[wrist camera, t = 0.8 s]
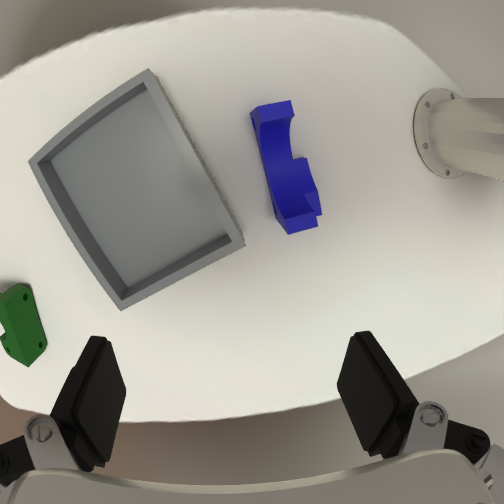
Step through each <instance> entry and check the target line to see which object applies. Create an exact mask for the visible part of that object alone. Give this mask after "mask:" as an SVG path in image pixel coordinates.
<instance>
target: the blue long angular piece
mask: <svg viewBox="0 0 504 504" xmlns="http://www.w3.org/2000/svg"><path fill="white" fill-rule="evenodd" d="M250 116H251V120H252V123H253V127H254V131H255V135H256V139H257V143H258V147H259V150H260V154H261V158H262V162H263V166H264V170H265V174H266V178H267V183H268V187H269V191H270V195H271V199H272V203H273V208H274V212H275V216H276V219H277V220H278V222H279V223H280V224H281V226H282V227H283V228H284V230H285V231H286V232H287V234H292V233H296V232H299V231H303V230H307V229H310V228H314V227H318V223H317V218H316V216H319V215H322V212H321V206H320V201H319V195H318V190H317V188H316V186H315V183H314V181H313V178H312V175H311V172H310V169H309V165H308V161H307V158H304V157H303V158H298V159H294V160H293V157H292V152H291V146H290V134H289V130H290V122H291V119H292V118H293V117H294V112H293V108H292V104H291V100H288V101H283V102H278V103H272V104H267V105H263V106H258V107H256V108H255V109H254V110H253V111H252V112H251V113H250Z"/></svg>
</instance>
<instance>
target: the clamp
mask: <svg viewBox="0 0 504 504" xmlns="http://www.w3.org/2000/svg"><path fill="white" fill-rule="evenodd" d="M0 322H1V324H2V326H3V328H4V330H5V333H4V334H3V335H2V336H0V340H1V343H2V345H3V347H4V349H5V351H6V352H7V354H8V355H9V356H10V357H12V358H13V359H15V360H17V361H18V362H20V363H22V364H23V365H25V366H27V367H29V366H30V365H31V364H32V363H33V362H34V361H35V360H36V359H37V358H38V357H39V356H40V355H41V354H42V353H43V352H44V351H45V349H46V346H47V342H46V339H45V336H44V333H43V330H42V327H41V323H40V320H39V317H38V314H37V310H36V307H35V303H34V299H33V296H32V292H31V290H30V289H29V288H28V287H25V286H22V285H20V284H17V285H15V286H13V287H12V288H10V289H9V290H7V291H6V292H4V293H3V294H2V293H0Z"/></svg>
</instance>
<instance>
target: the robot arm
mask: <svg viewBox="0 0 504 504" xmlns="http://www.w3.org/2000/svg"><path fill="white" fill-rule="evenodd" d="M414 134H415V141H416V144H417V148H418V151H419V153H420V155H421V158H422V159H423V161H424V163H425V164H426V165H427V167H428V168H429V169H430V170H431V171H432V172H434V173H435V174H436V175H439V176H441V177H444V178H452V179H454V178H457V177H460V176H461V175H463V174H464V173H465V172H466V171H467V172H471V173H475V174H479V175H482V176H486V177H490V178H493V179H497V180H500V181H504V98H472V99H471V98H468V99H462V98H461V97H460V96H459V95H457V94H456V93H454V92H453V91H450V90H448V89H435V90H431V91H429V92H428V93H426V94H425V95H424V96H423V97H422V98H421V100H420V102H419V104H418V106H417V109H416V112H415V118H414ZM337 389H338V392H339V394H340V396H341V399H342V401H343V403H344V405H345V408H346V410H347V412H348V415H349V417H350V419H351V422H352V424H353V426H354V428H355V431H356V433H357V436H358V438H359V440H360V443H361V445H362V447H363V450H364V451H368V453H369V456H375V455H378V454H381V455H382V457H383V460H382V461H378V462H375V463H372V464H368V465H364V466H360V467H356V468H352V469H348V470H344V471H340V472H335V473H331V474H326V475H320V476H315V477H309V478H303V479H297V480H290V481H282V482H273V483H263V484H250V485H228V486H227V485H226V486H201V485H200V486H199V485H177V484H164V483H153V482H146V481H138V480H131V479H124V478H117V477H112V476H106V475H101V474H96V473H93V472H92V471H93V469H94V466H98V467H103V468H104V467H105V463H106V462H108V461H109V460H110V457H111V452H112V448H113V443H114V439H115V435H116V431H117V427H118V423H119V419H120V415H121V412H122V408H123V404H124V400H125V397H126V387H125V384H124V382H123V379H122V376H121V373H120V370H119V367H118V364H117V361H116V357H115V354H114V351H113V347H112V344H111V342H110V341H107V339H106V337H101V336H91V337H90V338H89V340H88V342H87V344H86V346H85V348H84V350H83V352H82V354H81V356H80V357H79V359H78V361H77V363H76V365H75V366H74V367H73V368H72V369H71V371H70V373H69V375H68V377H67V379H66V381H65V383H64V385H63V387H62V390H61V392H60V394H59V396H58V398H57V400H56V402H55V405H54V407H53V409H52V411H51V414H50V416H48V415H44V414H39V415H35V416H33V417H31V418H30V419H29V420H28V421H27V422H26V424H25V425H24V429H23V432H24V435H22V436H20V437H18V438H15V439H13V440H11V441H8V442H6V443H4V444H1V445H0V504H504V449H502V448H501V447H499V446H498V445H496V444H493V445H490V439H489V437H488V435H487V434H486V433H485V432H484V431H482V430H480V429H477V428H474V427H470V426H467V425H464V424H460V423H457V422H454V421H451V420H448V414H447V411H446V410H445V408H444V407H443V406H441V405H440V404H438V403H436V402H432V401H426V402H423V403H421V404H419V403H418V401H417V399H416V398H415V396H414V395H413V393H412V392H411V390H410V389H409V387H408V386H407V384H406V383H405V381H404V380H403V378H402V377H401V375H400V374H399V372H398V371H397V369H396V368H395V366H394V365H393V363H392V362H391V360H390V359H389V357H388V356H387V355H386V353H385V352H384V350H383V349H382V347H381V346H380V344H379V343H378V342H377V340H376V339H375V337H374V336H373V334H372V333H371V332H370V331H362V332H356V333H355V334H354V336H351V338H350V341H349V344H348V348H347V352H346V355H345V358H344V362H343V365H342V368H341V372H340V375H339V378H338V381H337Z"/></svg>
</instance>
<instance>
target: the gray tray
mask: <svg viewBox="0 0 504 504" xmlns="http://www.w3.org/2000/svg"><path fill="white" fill-rule="evenodd" d="M28 163H29V165H30V167H31V169H32V171H33V173H34V175H35V177H36V179H37V181H38V183H39V185H40V187H41V189H42V191H43V193H44V195H45V197H46V198H47V200H48V202H49V204H50V206H51V208H52V209H53V211H54V213H55V215H56V216H57V218H58V220H59V222H60V223H61V225H62V227H63V228H64V230H65V232H66V233H67V235H68V237H69V238H70V240H71V241H72V243H73V245H74V246H75V248H76V249H77V251H78V252H79V254H80V255H81V257H82V258H83V260H84V261H85V263H86V264H87V266H88V267H89V269H90V270H91V272H92V273H93V275H94V276H95V277H96V279H97V280H98V282H99V283H100V284H101V286H102V287H103V289H104V290H105V291H106V293H107V294H108V295H109V297H110V298H111V299H112V301H113V302H114V303H115V305H116V306H117V307H118V309H119V310H120V311H122V310H124V309H126V308H128V307H130V306H131V305H133V304H135V303H137V302H139V301H141V300H143V299H145V298H147V297H148V296H150V295H152V294H154V293H156V292H158V291H160V290H162V289H164V288H165V287H167V286H169V285H171V284H173V283H175V282H177V281H179V280H181V279H183V278H185V277H186V276H188V275H190V274H192V273H194V272H196V271H198V270H200V269H202V268H204V267H206V266H207V265H209V264H211V263H213V262H215V261H217V260H219V259H221V258H223V257H225V256H227V255H229V254H231V253H232V252H234V251H236V250H238V249H240V248H242V247H244V246H246V244H245V240H244V237H243V233H242V232H241V230H240V228H239V226H238V224H237V222H236V221H235V219H234V217H233V215H232V213H231V211H230V210H229V208H228V206H227V204H226V202H225V201H224V199H223V197H222V195H221V193H220V191H219V190H218V188H217V186H216V184H215V182H214V180H213V179H212V177H211V175H210V173H209V171H208V170H207V168H206V166H205V164H204V162H203V160H202V159H201V157H200V155H199V153H198V151H197V150H196V148H195V146H194V144H193V142H192V140H191V139H190V137H189V135H188V133H187V131H186V129H185V128H184V126H183V124H182V122H181V120H180V119H179V117H178V115H177V113H176V111H175V109H174V108H173V106H172V104H171V102H170V100H169V99H168V97H167V95H166V93H165V91H164V89H163V88H162V86H161V84H160V82H159V80H158V79H157V77H156V76H155V75H154V74H153V73H152V72H151V70H150V69H149V68H148V69H146V70H145V71H143V72H141V73H140V74H138V75H136V76H135V77H133V78H131V79H130V80H128V81H127V82H125V83H124V84H122V85H121V86H119V87H118V88H116V89H115V90H113V91H112V92H110V93H109V94H107V95H106V96H105V97H103V98H102V99H100V100H99V101H98V102H96V103H95V104H93V105H92V106H91V107H89V108H88V109H87V110H86V111H84V112H83V113H82V114H80V115H79V116H78V117H77V118H75V119H74V120H73V121H72V122H70V123H69V124H68V125H67V126H66V127H64V128H63V129H62V130H61V131H60V132H59V133H57V134H56V135H55V136H54V137H53V138H52V139H51V140H50V141H48V142H47V143H46V144H45V145H44V146H43V147H42V148H41V149H40V150H39V151H38V152H37V153H36V154H35V155H34V156H33V157H32V158H31V159H30V160H29V161H28Z"/></svg>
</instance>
